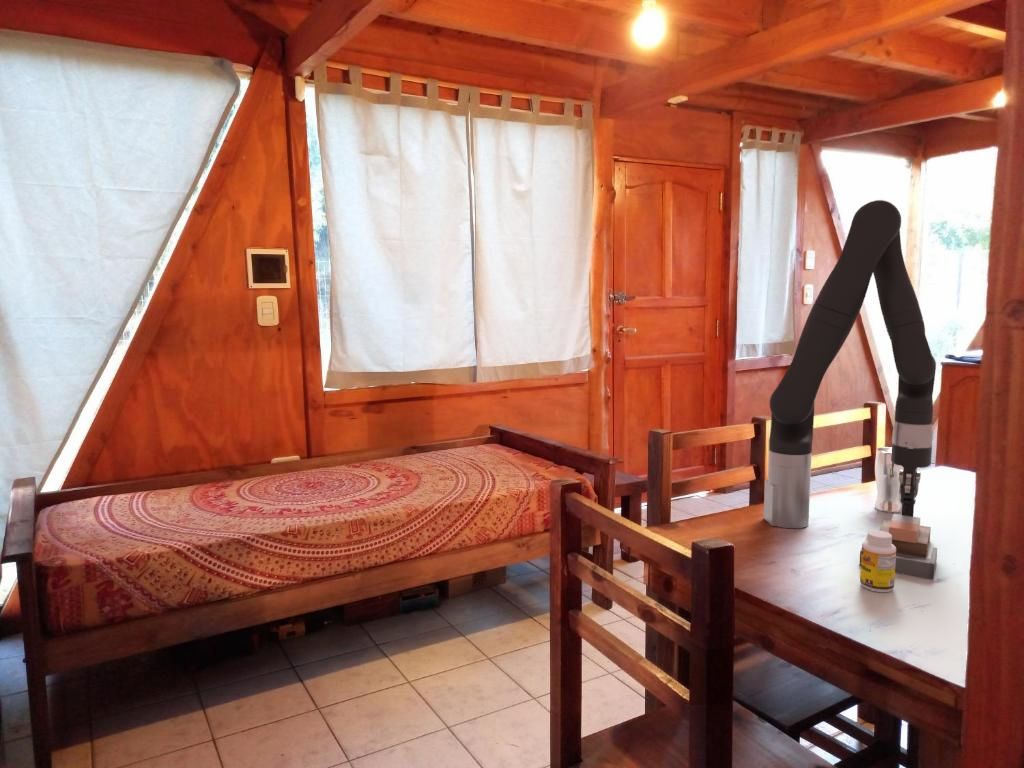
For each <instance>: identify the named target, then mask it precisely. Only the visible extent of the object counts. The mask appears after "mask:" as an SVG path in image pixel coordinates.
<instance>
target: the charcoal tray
mask: <svg viewBox="0 0 1024 768" xmlns="http://www.w3.org/2000/svg"><path fill="white" fill-rule="evenodd" d="M866 540H867V536H866V538H865V540H864V541H866ZM861 555H862V547H861V549H860V551H859V567H861ZM937 556H938V547H934V546H933V547H932V549H931V555H930V557H926V558H925V557H919V556H913V555H907V554H901V553H896V562H895V574H902V575H906V576H911V577H912V576H913V577H918V578H924V579H929V580H935V579H934V578H935V572H936V567H937Z"/></svg>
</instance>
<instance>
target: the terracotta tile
mask: <svg viewBox="0 0 1024 768" xmlns="http://www.w3.org/2000/svg"><path fill="white" fill-rule="evenodd" d="M890 521H891V523H890V526H889V533H890V534H891V535H892V539H893V540H899V541H905V542H912V543H916V542H917V538H918V527H919V524H913V523H907V522H900V521H893V520H892V519H891V520H890Z"/></svg>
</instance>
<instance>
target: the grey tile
mask: <svg viewBox="0 0 1024 768" xmlns="http://www.w3.org/2000/svg"><path fill="white" fill-rule="evenodd" d="M891 520H893V521H900V522H907V523H913V524H919V527H918V534H919V529H920V526H921V517H918V516H913V517H912V516H905V515H901V514H899V513H893V515H892V518H891Z"/></svg>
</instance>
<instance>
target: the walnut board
mask: <svg viewBox="0 0 1024 768" xmlns="http://www.w3.org/2000/svg"><path fill="white" fill-rule="evenodd" d="M882 521H883V522H882V523H881V526H880V529H879V531H884V532H887V533H889V526H890V523H891V520H885V519H883V520H882ZM930 542H931V526H927V525H920V529H919V534H918V538H917V542H916V543H912V542H905V541H899V540H893V539H892V544H893V545H894V546H895V547H896V553H901V554H907V555H913V556H919V557H925V558H928V557H927V556H928V551H929V547H930Z"/></svg>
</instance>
